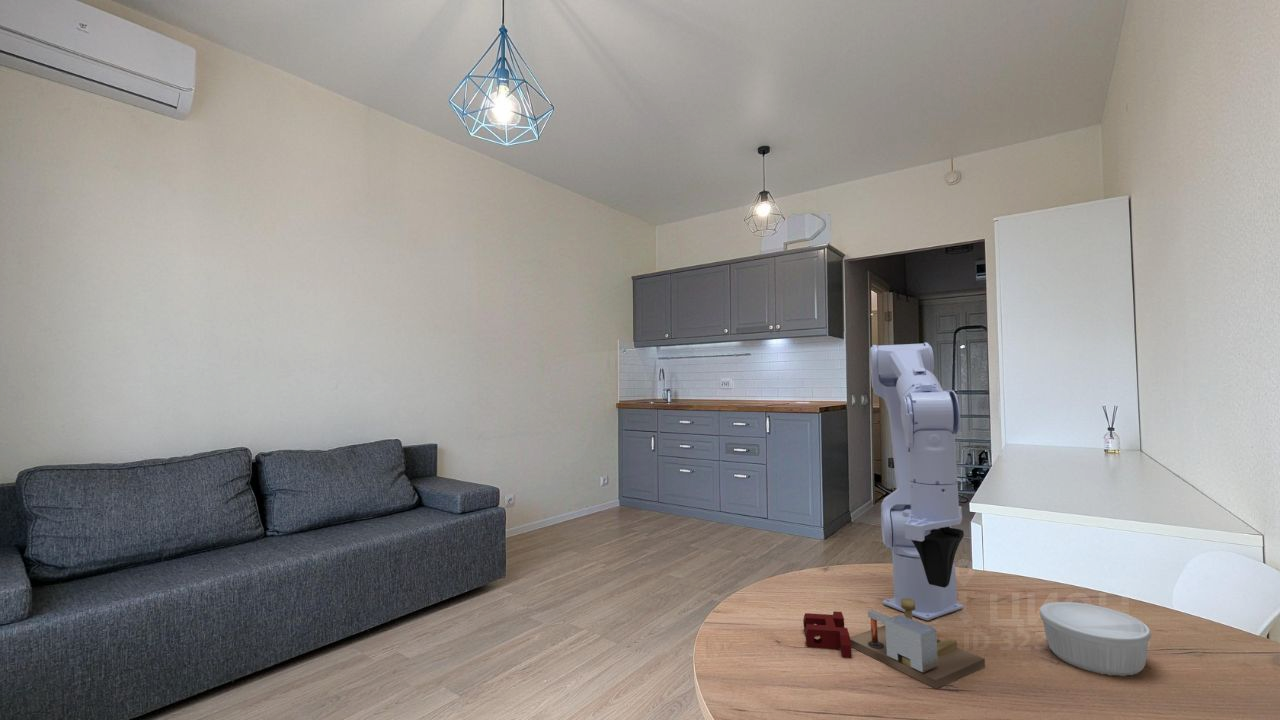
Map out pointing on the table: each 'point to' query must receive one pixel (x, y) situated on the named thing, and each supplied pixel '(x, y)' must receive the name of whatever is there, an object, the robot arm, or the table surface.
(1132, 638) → the ramekin
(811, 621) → the bracket
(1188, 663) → the table surface
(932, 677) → the board
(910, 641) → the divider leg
